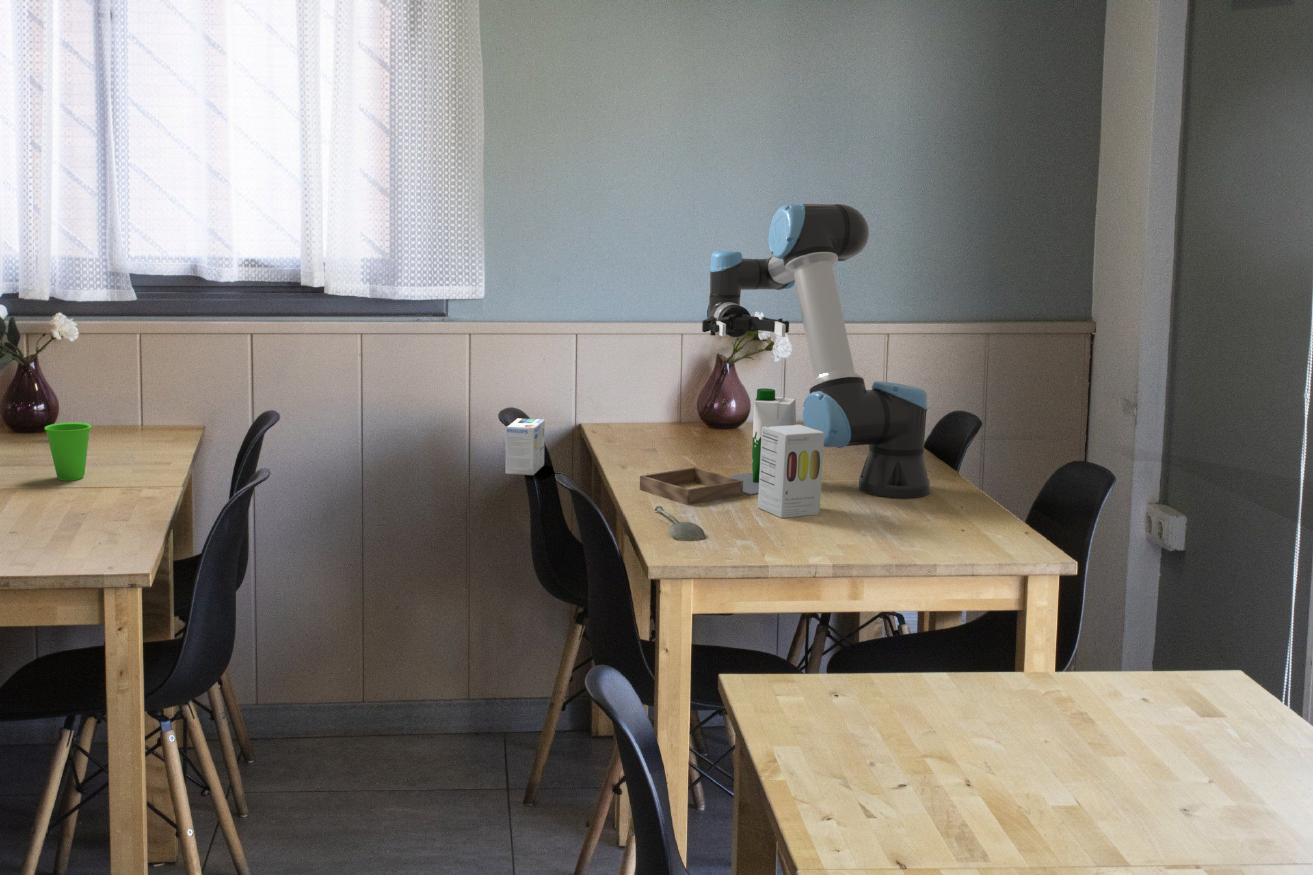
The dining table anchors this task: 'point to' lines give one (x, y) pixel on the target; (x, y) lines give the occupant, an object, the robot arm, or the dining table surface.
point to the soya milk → (769, 420)
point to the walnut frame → (714, 490)
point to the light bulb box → (525, 446)
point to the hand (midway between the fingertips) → (754, 330)
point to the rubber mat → (747, 483)
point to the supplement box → (790, 470)
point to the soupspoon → (683, 528)
